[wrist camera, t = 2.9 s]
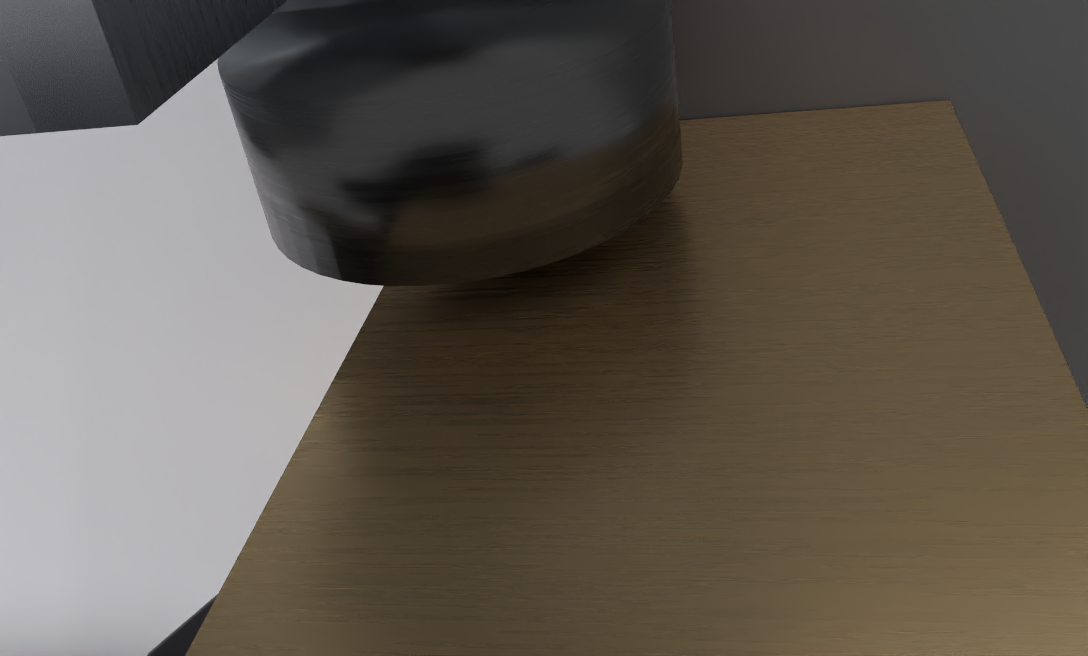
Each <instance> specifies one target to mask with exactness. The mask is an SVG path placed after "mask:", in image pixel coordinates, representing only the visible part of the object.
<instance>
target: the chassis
mask: <svg viewBox="0 0 1088 656" xmlns="http://www.w3.org/2000/svg"><path fill="white" fill-rule="evenodd" d="M273 12H274V13H273ZM217 58H219V60H218V69H219V73H220V76H221V80H222V83H223V86H224V89H225V92H226V95H227V98H228V101H229V104H230V108H231V111H232V114H233V117H234V120H235V123H236V126H237V129H238V132H239V136H240V139H241V142H242V145H243V148H244V151H245V154H246V157H247V160H248V163H249V167H250V170H251V173H252V176H253V179H254V182H255V185H256V188H257V191H258V195H259V198H260V201H261V204H262V207H263V210H264V213H265V216H266V219H267V223H268V226H269V229H270V232H271V235H272V238H273V240H274V242H275V243H276V245H277V247H278V249H279V250H280V251H281V252H282V253H283V254H284V255H285V256H286V257H287V258H288V259H290V260H292V261H293V262H295V263H296V264H298V265H300V266H301V267H303V268H305V269H308V270H310V271H313V272H315V273H317V274H320V275H323V276H327V277H331V278H334V279H338V280H342V281H348V282H355V283H361V284H368V285H383V286H431V285H443V284H456V283H463V282H469V281H476V280H483V279H489V278H494V277H499V276H503V275H508V274H513V273H518V272H522V271H525V270H529V269H532V268H536V267H539V266H543V265H547V264H550V263H553V262H556V261H559V260H561V259H564V258H567V257H570V256H573V255H575V254H578V253H581V252H583V251H585V250H587V249H590V248H592V247H594V246H596V245H599V244H601V243H603V242H605V241H607V240H609V239H611V238H613V237H614V236H616V235H618V234H620V233H622V232H624V231H625V230H627V229H629V228H630V227H632V226H633V225H635V224H636V223H638V222H639V221H640V220H642V219H643V218H645V217H646V216H647V215H649V214H650V213H651V212H652V211H653V210H654V209H655V208H657V207H658V206H659V205H660V204H661V203H662V202H663V201H664V200H665V198H666V197H667V196H668V195H669V194H670V193H671V191H672V190H673V188H674V187H675V185H676V183H677V181H678V179H679V177H680V174H681V170H682V166H683V159H682V144H681V131H680V118H679V105H678V92H677V79H676V66H675V53H674V40H673V27H672V14H671V2H670V0H0V136H7V135H19V134H31V133H43V132H55V131H67V130H79V129H91V128H103V127H115V126H127V125H138V124H139V123H140V122H142V121H143V120H144V119H145V118H146V117H148V116H149V115H150V114H151V113H152V112H154V111H155V110H156V109H157V108H158V107H160V106H161V105H162V104H163V103H164V102H166V101H167V100H168V99H169V98H170V97H172V96H173V95H174V94H175V93H177V92H178V91H179V90H180V89H181V88H183V87H184V86H185V85H186V84H187V83H189V82H190V81H191V80H192V79H193V78H195V77H196V76H197V75H198V74H199V73H201V72H202V71H203V70H204V69H205V68H207V67H208V66H209V65H210V64H211V63H213V62H214V61H215V60H216V59H217Z"/></svg>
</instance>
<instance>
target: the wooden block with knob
mask: <svg viewBox="0 0 1088 656" xmlns="http://www.w3.org/2000/svg"><path fill="white" fill-rule="evenodd" d="M680 131H681V144H682V159H683V166H682V170H681V174H680V177H679V179H678V181H677V183H676V185H675V187H674V188H673V190H672V191H671V193H670V194H669V195H668V196H667V197H666V198H665V200H664V201H663V202H662V203H661V204H660V205H659V206H658V207H657V208H655V209H654V210H653V211H652V212H651V213H650V214H649V215H647V216H646V217H645V218H643V219H642V220H640V221H639V222H638V223H636V224H635V225H633V226H632V227H630V228H629V229H627V230H625V231H624V232H622V233H620V234H618V235H616V236H614V237H613V238H611V239H609V240H607V241H605V242H603V243H601V244H599V245H596V246H594V247H592V248H590V249H587V250H585V251H583V252H581V253H578V254H575V255H573V256H570V257H567V258H564V259H561V260H559V261H556V262H553V263H550V264H547V265H543V266H539V267H536V268H532V269H529V270H525V271H522V272H518V273H513V274H508V275H503V276H499V277H494V278H489V279H483V280H476V281H469V282H463V283H456V284H443V285H431V286H384V287H383V289H382V290H381V292H380V294H379V296H378V298H377V300H376V302H375V303H374V305H373V307H372V309H371V311H370V313H369V315H368V316H367V318H366V320H365V322H364V324H363V326H362V328H361V329H360V331H359V333H358V335H357V337H356V339H355V341H354V343H353V344H352V346H351V348H350V350H349V352H348V354H347V356H346V357H345V359H344V361H343V363H342V365H341V367H340V369H339V370H338V372H337V374H336V376H335V378H334V380H333V382H332V383H331V385H330V387H329V389H328V391H327V393H326V395H325V396H324V398H323V400H322V402H321V404H320V406H319V408H318V409H317V411H316V413H315V415H314V417H313V419H312V421H311V423H310V424H309V426H308V428H307V430H306V432H305V434H304V436H303V437H302V439H301V441H300V443H299V445H298V447H297V449H296V450H295V452H294V454H293V456H292V458H291V460H290V462H289V463H288V465H287V467H286V469H285V471H284V473H283V475H282V476H281V478H280V480H279V482H278V484H277V486H276V488H275V489H274V491H273V493H272V495H271V497H270V499H269V501H268V502H267V504H266V506H265V508H264V510H263V512H262V514H261V516H260V517H259V519H258V521H257V523H256V525H255V527H254V529H253V530H252V532H251V534H250V536H249V538H248V540H247V542H246V543H245V545H244V547H243V549H242V551H241V553H240V555H239V556H238V558H237V560H236V562H235V564H234V566H233V568H232V569H231V571H230V573H229V575H228V577H227V579H226V581H225V582H224V584H223V586H222V588H221V590H220V592H219V594H218V596H217V597H216V599H215V601H214V603H213V605H212V607H211V609H210V610H209V612H208V614H207V616H206V618H205V620H204V622H203V623H202V625H201V627H200V629H199V631H198V633H197V635H196V636H195V638H194V640H193V642H192V644H191V646H190V648H189V649H188V651H187V653H186V655H185V656H1088V409H1087V407H1086V405H1085V402H1084V400H1083V398H1082V396H1081V393H1080V391H1079V389H1078V387H1077V384H1076V382H1075V380H1074V378H1073V375H1072V373H1071V371H1070V369H1069V366H1068V364H1067V362H1066V360H1065V357H1064V355H1063V353H1062V351H1061V348H1060V346H1059V344H1058V342H1057V340H1056V337H1055V335H1054V333H1053V331H1052V328H1051V326H1050V324H1049V322H1048V319H1047V317H1046V315H1045V313H1044V310H1043V308H1042V306H1041V304H1040V301H1039V299H1038V297H1037V295H1036V292H1035V290H1034V288H1033V286H1032V283H1031V281H1030V279H1029V277H1028V274H1027V272H1026V270H1025V268H1024V265H1023V263H1022V261H1021V259H1020V257H1019V254H1018V252H1017V250H1016V248H1015V245H1014V243H1013V241H1012V239H1011V236H1010V234H1009V232H1008V230H1007V227H1006V225H1005V223H1004V221H1003V218H1002V216H1001V214H1000V212H999V209H998V207H997V205H996V203H995V200H994V198H993V196H992V194H991V191H990V189H989V187H988V185H987V183H986V180H985V178H984V176H983V174H982V171H981V169H980V167H979V165H978V162H977V160H976V158H975V156H974V153H973V151H972V149H971V147H970V144H969V142H968V140H967V138H966V135H965V133H964V131H963V129H962V126H961V124H960V122H959V120H958V117H957V115H956V113H955V111H954V108H953V106H952V104H951V102H950V100H941V101H928V102H915V103H902V104H888V105H875V106H862V107H849V108H836V109H823V110H810V111H796V112H783V113H770V114H757V115H744V116H731V117H718V118H704V119H691V120H680Z"/></svg>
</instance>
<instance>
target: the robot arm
mask: <svg viewBox="0 0 1088 656" xmlns="http://www.w3.org/2000/svg"><path fill="white" fill-rule="evenodd" d="M217 596H218V594H217V595H216V596H215V597H214V598H213V599H211V600H210V601H209V602H208V603H207V604H206V605H204V606H203V607H202V608H201V609H200V610H199V611H197V612H196V613H195V614H194V615H193V616H192V617H190V618H189V619H188V620H187V621H186V622H184V623H183V624H182V625H181V626H180V627H179V628H177V629H176V630H175V631H174V632H173V633H172V634H170V635H169V636H168V637H167V638H166V639H164V640H163V641H162V642H161V643H160V644H159V645H157V646H156V647H155V648H154V649H153V650H152V651H150V652H149V653H148V655H147V656H185V655H186V653H187V651H188V649H189V648H190V646H191V644H192V642H193V640H194V638H195V636H196V635H197V633H198V631H199V629H200V627H201V625H202V623H203V622H204V620H205V618H206V616H207V614H208V612H209V610H210V609H211V607H212V605H213V603H214V601H215V599H216V597H217Z"/></svg>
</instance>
